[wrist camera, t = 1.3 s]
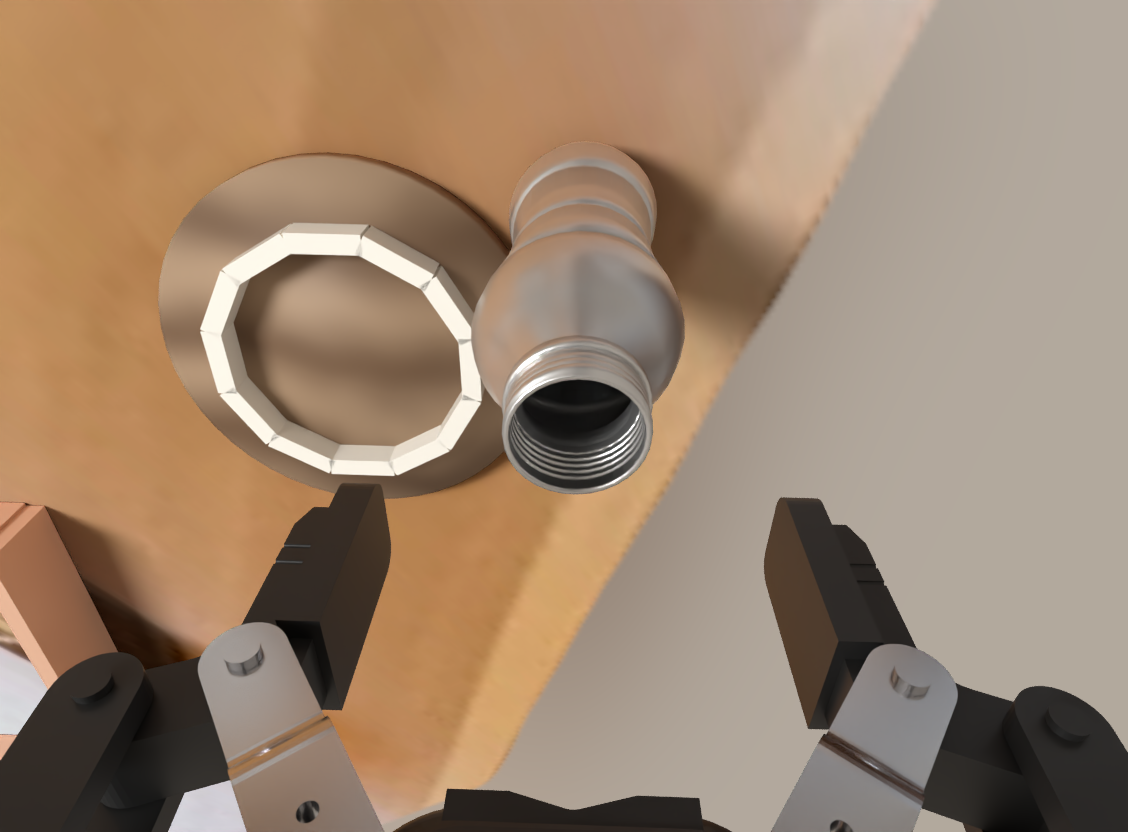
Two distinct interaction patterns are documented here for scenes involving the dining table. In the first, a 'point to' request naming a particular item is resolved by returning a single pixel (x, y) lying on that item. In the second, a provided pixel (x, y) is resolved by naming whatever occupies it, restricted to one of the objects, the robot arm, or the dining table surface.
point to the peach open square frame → (45, 597)
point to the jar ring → (267, 417)
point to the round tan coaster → (336, 315)
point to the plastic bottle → (579, 321)
